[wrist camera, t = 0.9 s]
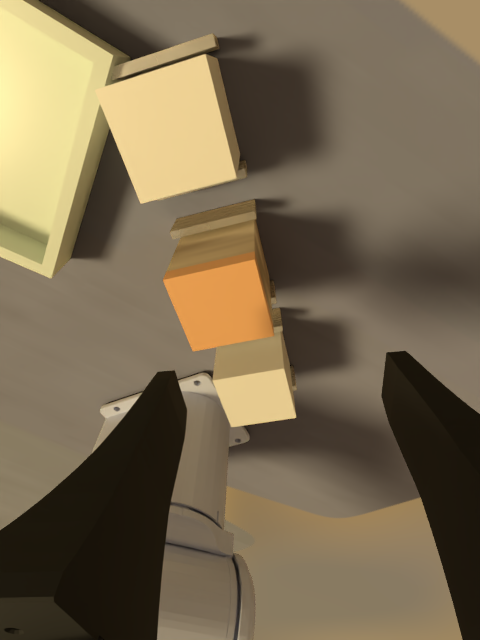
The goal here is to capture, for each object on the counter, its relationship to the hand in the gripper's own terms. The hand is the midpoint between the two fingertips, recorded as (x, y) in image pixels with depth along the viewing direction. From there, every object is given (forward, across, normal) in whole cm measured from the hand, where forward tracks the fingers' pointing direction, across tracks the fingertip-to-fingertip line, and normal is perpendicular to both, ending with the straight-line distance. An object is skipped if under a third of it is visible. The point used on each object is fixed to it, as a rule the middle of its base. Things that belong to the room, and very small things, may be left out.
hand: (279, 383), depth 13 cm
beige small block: (+10, +2, +6) cm, 12 cm away
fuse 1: (+10, +3, -7) cm, 13 cm away
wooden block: (+10, +2, 0) cm, 11 cm away
